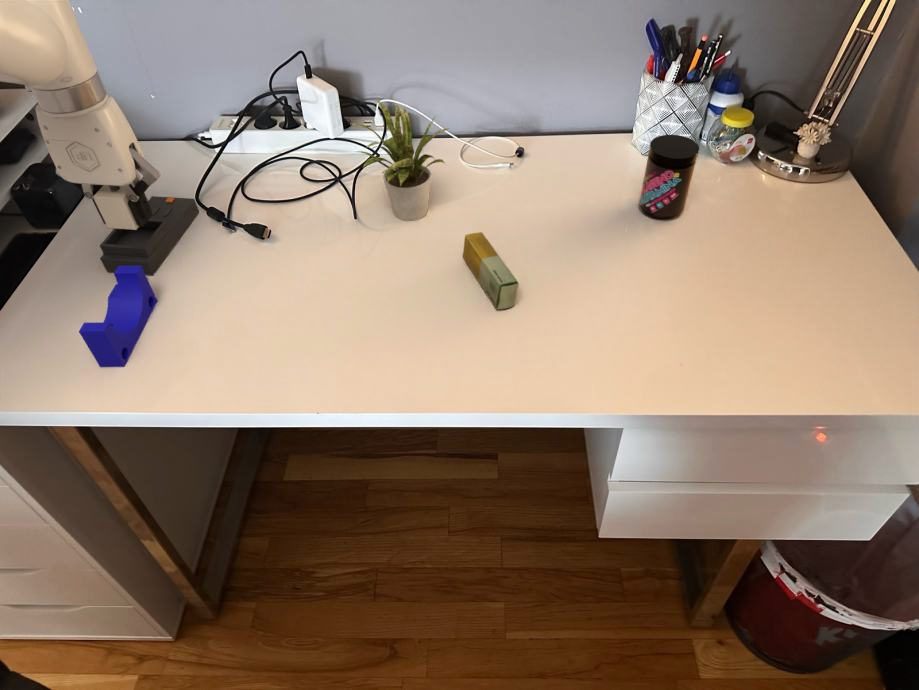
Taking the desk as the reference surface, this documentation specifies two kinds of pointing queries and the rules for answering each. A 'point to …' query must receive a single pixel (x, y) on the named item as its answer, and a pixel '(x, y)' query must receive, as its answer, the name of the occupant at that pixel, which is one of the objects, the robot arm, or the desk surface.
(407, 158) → the house plant
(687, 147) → the supplement container
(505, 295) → the medication box
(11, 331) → the desk surface
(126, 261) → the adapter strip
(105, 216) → the block
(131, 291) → the blue curved cradle bracket
